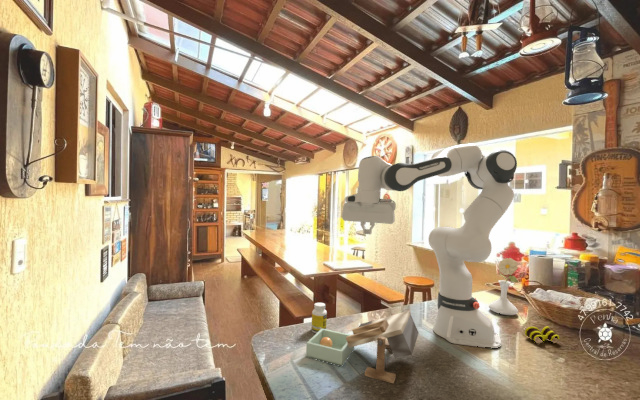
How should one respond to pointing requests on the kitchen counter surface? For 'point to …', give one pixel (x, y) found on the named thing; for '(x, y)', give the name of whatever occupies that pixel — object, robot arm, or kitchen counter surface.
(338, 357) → the green square tray
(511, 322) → the kitchen counter surface
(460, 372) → the kitchen counter surface
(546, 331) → the yellow black striped piece
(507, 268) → the flower in vase
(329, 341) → the ball
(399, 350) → the lever
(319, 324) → the supplement bottle
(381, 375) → the lever stand
